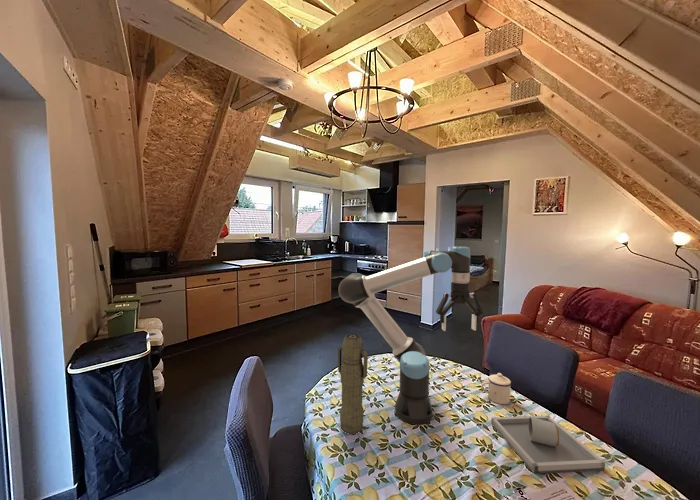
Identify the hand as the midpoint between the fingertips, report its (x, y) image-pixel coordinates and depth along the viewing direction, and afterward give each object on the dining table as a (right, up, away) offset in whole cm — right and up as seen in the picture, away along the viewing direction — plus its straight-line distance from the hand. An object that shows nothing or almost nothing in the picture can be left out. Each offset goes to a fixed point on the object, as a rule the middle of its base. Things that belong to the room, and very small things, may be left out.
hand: (458, 329), depth 124 cm
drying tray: (+20, -33, -25) cm, 46 cm away
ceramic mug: (+20, -33, -24) cm, 45 cm away
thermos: (-47, -32, -17) cm, 60 cm away
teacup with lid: (+18, -32, +3) cm, 37 cm away
